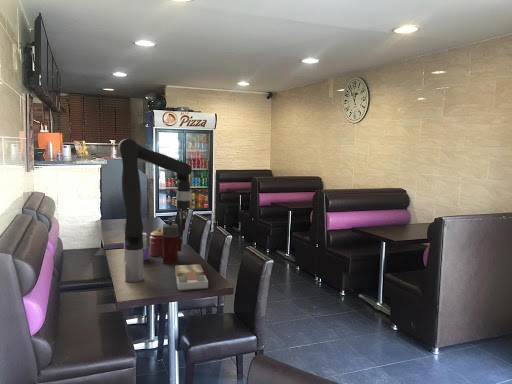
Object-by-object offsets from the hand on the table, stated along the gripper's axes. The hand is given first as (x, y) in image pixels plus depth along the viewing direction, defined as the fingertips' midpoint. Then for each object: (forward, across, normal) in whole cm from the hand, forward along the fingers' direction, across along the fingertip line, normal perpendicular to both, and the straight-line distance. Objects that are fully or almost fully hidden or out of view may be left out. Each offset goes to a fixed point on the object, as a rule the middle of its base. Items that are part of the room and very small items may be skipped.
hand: (182, 229), depth 224 cm
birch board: (+26, +6, +4) cm, 26 cm away
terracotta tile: (+23, +16, +4) cm, 28 cm away
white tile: (+23, +21, +4) cm, 31 cm away
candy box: (+26, -36, -26) cm, 52 cm away
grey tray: (+26, +19, +4) cm, 32 cm away
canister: (+26, -46, -12) cm, 54 cm away
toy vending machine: (+26, -26, -4) cm, 37 cm away
